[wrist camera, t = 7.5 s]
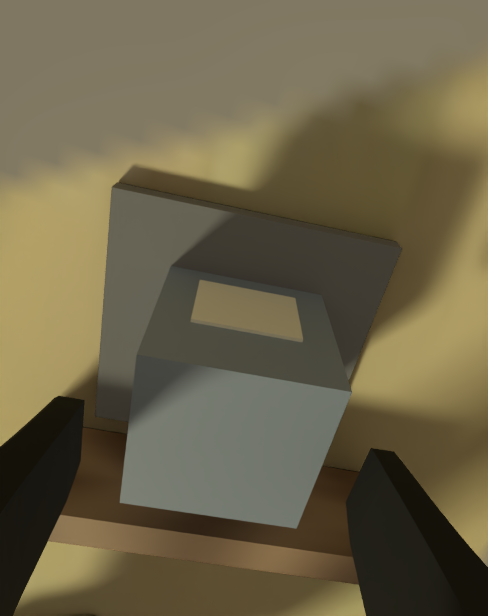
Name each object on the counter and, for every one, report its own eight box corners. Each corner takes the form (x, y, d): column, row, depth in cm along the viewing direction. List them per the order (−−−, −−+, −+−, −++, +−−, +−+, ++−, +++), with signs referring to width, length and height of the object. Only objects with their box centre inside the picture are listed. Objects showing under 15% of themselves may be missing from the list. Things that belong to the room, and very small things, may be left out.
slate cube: (153, 387, 17) (119, 502, 12) (171, 263, 14) (136, 350, 10) (284, 409, 17) (296, 528, 13) (322, 292, 15) (353, 388, 10)
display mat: (99, 406, 18) (95, 416, 18) (117, 182, 14) (111, 187, 13) (317, 442, 19) (319, 453, 18) (396, 241, 15) (402, 248, 14)
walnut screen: (36, 446, 19) (-12, 532, 16) (36, 419, 18) (-15, 503, 15) (354, 496, 20) (375, 587, 17) (365, 473, 20) (390, 562, 16)
